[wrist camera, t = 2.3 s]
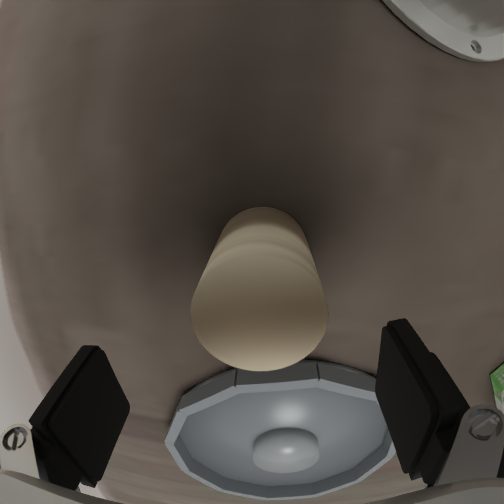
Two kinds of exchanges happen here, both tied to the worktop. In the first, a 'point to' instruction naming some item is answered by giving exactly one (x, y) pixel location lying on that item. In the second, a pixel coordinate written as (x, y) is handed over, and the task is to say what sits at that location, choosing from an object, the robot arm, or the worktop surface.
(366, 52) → the worktop surface
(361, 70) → the worktop surface
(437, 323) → the worktop surface
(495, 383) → the ink box
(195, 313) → the beige cylinder
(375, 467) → the ring tray
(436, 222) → the worktop surface
